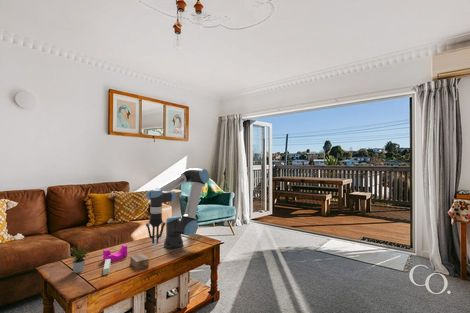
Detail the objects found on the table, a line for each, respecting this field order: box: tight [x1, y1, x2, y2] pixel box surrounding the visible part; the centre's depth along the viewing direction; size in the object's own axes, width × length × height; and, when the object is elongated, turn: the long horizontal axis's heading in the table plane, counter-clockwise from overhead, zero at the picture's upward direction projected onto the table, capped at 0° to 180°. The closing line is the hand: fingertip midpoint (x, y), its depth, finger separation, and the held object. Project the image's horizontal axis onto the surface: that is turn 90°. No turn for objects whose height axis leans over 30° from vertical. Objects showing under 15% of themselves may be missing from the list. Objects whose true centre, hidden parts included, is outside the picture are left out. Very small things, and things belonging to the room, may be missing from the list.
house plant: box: [67, 244, 90, 274], centre depth 155 cm, size 14×14×16 cm
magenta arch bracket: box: [102, 244, 128, 263], centre depth 176 cm, size 15×6×8 cm, turn 140°
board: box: [102, 259, 112, 276], centre depth 159 cm, size 3×16×4 cm, turn 23°
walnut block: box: [129, 253, 150, 270], centre depth 166 cm, size 8×12×5 cm, turn 39°
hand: (155, 248), depth 170 cm, fingers closed
